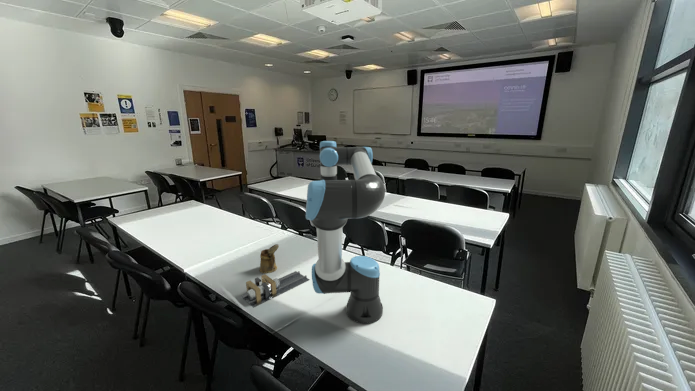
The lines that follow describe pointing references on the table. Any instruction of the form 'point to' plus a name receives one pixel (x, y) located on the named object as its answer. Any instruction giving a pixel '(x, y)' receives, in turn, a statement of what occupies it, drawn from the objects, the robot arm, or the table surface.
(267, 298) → the aperture bridge
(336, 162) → the robot arm
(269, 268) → the wooden mug
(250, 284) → the collar
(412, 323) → the table surface
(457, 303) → the table surface
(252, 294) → the tube
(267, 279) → the collar
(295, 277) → the dark grey base rail
